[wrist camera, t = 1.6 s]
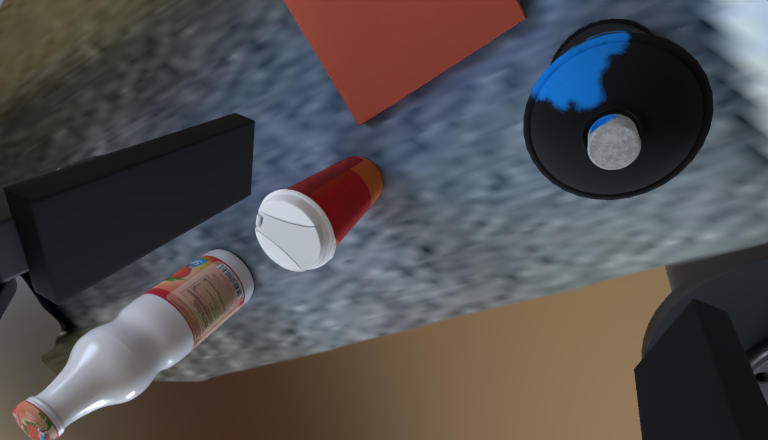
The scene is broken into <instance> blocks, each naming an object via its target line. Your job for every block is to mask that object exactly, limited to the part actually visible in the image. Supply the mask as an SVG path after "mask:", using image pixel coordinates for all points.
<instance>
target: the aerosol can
mask: <svg viewBox="0 0 768 440" xmlns="http://www.w3.org/2000/svg"><path fill="white" fill-rule="evenodd" d="M712 115H713V95H712V90H711V87H710V84H709V81H708V78H707V75H706V73H705V72H704V70H703V69H702V67H701V66H700V64H699V63H698V61H697V60H696V59H695V58H694V57H693V56H692V55H691V54H689V53H688V52H687V51H686V50H685V49H684V48H682V47H681V46H679V45H677V44H675V43H673V42H671V41H670V40H668V39H665V38H662V37H658V36H655V35H654V34H652V33H651V32H650V31H649V30H648V29H647V28H645V27H644V26H642V25H640V24H638V23H636V22H632V21H629V20H624V19H608V20H601V21H598V22H594V23H591V24H589V25H587V26H585V27H583V28H581V29H579V30H578V31H576V32H575V33H574V34H572V35H571V36H570V37H569V38H568V39H567V40H566V41H565V42H564V43H563V44H562V45H561V46H560V48H559V49H558V51H557V52H556V54H555V55H554V58H553V60H552V62H551V65H550V66H549V67H548V68H547V69H546V70H545V71H544V73H543V74H542V75H541V77H540V78H539V80H538V81H537V83H536V84H535V86H534V87H533V89H532V92H531V94H530V96H529V99H528V101H527V104H526V109H525V114H524V138H525V143H526V147H527V150H528V152H529V154H530V156H531V159H532V161H533V162H534V164H535V165H536V166H537V168H538V169H539V171H540V172H541V173H542V174H543V175H544V176H545V177H546V178H547V179H548V180H550V181H551V182H552V183H553V184H555V185H556V186H558V187H560V188H561V189H563V190H565V191H567V192H570V193H572V194H575V195H578V196H581V197H586V198H591V199H600V200H615V199H623V198H630V197H633V196H637V195H640V194H644V193H647V192H649V191H651V190H653V189H655V188H657V187H660V186H662V185H664V184H665V183H667V182H668V181H669V180H671V179H672V178H674V177H675V176H677V175H678V174H679V173H680V172H681V171H682V170H683V169H684V168H685V167H686V166H687V165H688V164H689V163H690V162H691V161H692V160H693V159H694V157H695V156H696V155H697V153H698V152H699V150H700V149H701V147H702V146H703V144H704V141H705V139H706V137H707V134H708V132H709V130H710V126H711V121H712Z"/></svg>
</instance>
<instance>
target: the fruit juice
mask: <svg viewBox="0 0 768 440" xmlns="http://www.w3.org/2000/svg"><path fill="white" fill-rule="evenodd" d="M253 291H254V282H253V278H252V275H251V273H250V271H249V269H248V268H247V266H246V265H245V264H244V263H243V262H242V260H241V259H239V258H238V257H237V256H236V255H234V254H233V253H231V252H229V251H226V250H223V249H215V250H211V251H209V252H207V253H205V254H203V255H202V256H200V257H199V258H197V259H196V260H194V261H193V262H191V263H190V264H188V265H187V266H185V267H184V268H182V269H181V270H179V271H178V272H176V273H175V274H173V275H172V276H170V277H169V278H167V279H165V280H164V281H162V282H161V283H159V284H158V285H156V286H155V287H153V288H152V289H150V290H149V291H147V292H146V293H144V294H143V295H141V296H139V297H138V298H136V299H135V300H134V301H132V302H131V303H130V304H128V305H127V306H126V307H125V308H123V309H122V310H121V311H120V313H119V314H118V315H117V317H116V318H115V319H114V320H113V321H111V322H109V323H106V324H104V325H101V326H98V327H96V328H94V329H92V330H90V331H89V332H88V333H86V334H85V335H84V336H82V337H81V338H80V339H79V340H78V341H77V343H76V344H75V345H74V347H73V349H72V351H71V354H70V357H69V360H68V362H67V364H66V366H65V367H64V368H63V370H62V371H61V372H60V374H59V375H58V376H57V377H56V378H55V379H54V380H53V382H51V384H50V385H49V386H48V387H46V388H45V389H44V390H43V391H42V392H41V393H40V394H38V395H37V396H35V397H29V398H28V399H26V400H25V401H22V402H21V403H20V404H19V405H17V406H16V407H15V408H14V409H13V411H12V413H13V416H14V418H15V420H16V422H17V423H18V425H19V426H20V427H21V428H22V429H23V430H24V431H25V433H26V434H27V435H29V436H30V437H31V438H32V439H34V440H56V439H57V438H58V437H59V436H60V435H61V434H63V432H64V429H65V428H66V427H67V426H68V425H69V424H70V423H72V422H73V421H75V420H77V419H78V418H80V417H82V416H84V415H86V414H88V413H90V412H92V411H94V410H96V409H99V408H101V407H104V406H107V405H113V404H119V403H124V402H127V401H129V400H131V399H133V398H135V397H136V396H138V395H139V394H140V393H142V392H143V391H144V390H145V389H146V388H147V387H148V386H149V385H150V383H151V382H152V380H153V379H154V378H155V376H156V375H157V374H158V373H159V372H160V371H162V370H164V369H167V368H169V367H171V366H173V365H174V364H176V363H177V362H178V361H180V360H181V359H182V358H184V357H185V356H186V355H187V354H188V353H190V352H191V351H192V350H193V349H194V348H195V347H196V346H197V345H198V344H199V343H201V342H202V341H203V340H204V339H205V338H206V337H207V336H209V335H210V334H211V333H212V332H213V331H214V330H215V329H217V328H218V327H219V326H220V325H221V324H222V323H223V322H225V321H226V320H227V319H228V318H229V317H230V316H231V315H233V314H234V313H235V312H236V311H237V310H238V309H239V308H240V307H242V306H243V305H244V304H245V303H246V302H247V301H248V300H249V299H250V297H251V296H252V294H253Z"/></svg>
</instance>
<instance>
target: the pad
mask: <svg viewBox="0 0 768 440" xmlns="http://www.w3.org/2000/svg"><path fill="white" fill-rule="evenodd" d="M284 1H285V3H286V5H287V6H288V8H289V10H290V11H291V13H292V15H293V16H294V18H295V20H296V21H297V23H298V25H299V26H300V28H301V30H302V31H303V33H304V35H305V36H306V38H307V40H308V41H309V43H310V45H311V46H312V48H313V50H314V51H315V53H316V55H317V56H318V58H319V60H320V61H321V63H322V65H323V66H324V68H325V70H326V71H327V73H328V75H329V76H330V78H331V80H332V81H333V83H334V85H335V86H336V88H337V90H338V91H339V93H340V95H341V96H342V98H343V100H344V101H345V103H346V104H347V106H348V108H349V109H350V111H351V113H352V114H353V116H354V118H355V119H356V121H357V123H358V124H359V126H360V125H362V124H364V123H365V122H367V121H368V120H370V119H371V118H373V117H374V116H376V115H378V114H379V113H381V112H382V111H384V110H385V109H387V108H388V107H390V106H391V105H393V104H395V103H396V102H398V101H399V100H401V99H402V98H404V97H405V96H407V95H408V94H410V93H412V92H413V91H415V90H416V89H418V88H419V87H421V86H422V85H424V84H425V83H427V82H429V81H430V80H432V79H433V78H435V77H436V76H438V75H439V74H441V73H442V72H444V71H446V70H447V69H449V68H450V67H452V66H453V65H455V64H456V63H458V62H459V61H461V60H463V59H464V58H466V57H467V56H469V55H470V54H472V53H473V52H475V51H476V50H478V49H480V48H481V47H483V46H484V45H486V44H487V43H489V42H490V41H492V40H493V39H495V38H497V37H498V36H500V35H501V34H503V33H504V32H506V31H507V30H509V29H510V28H512V27H514V26H515V25H517V24H518V23H520V22H521V21H523V20H524V19H526V18H527V16H526V14H525V12H524V10H523V8H522V6H521V4H520V2H519V0H284Z"/></svg>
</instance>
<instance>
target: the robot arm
mask: <svg viewBox="0 0 768 440" xmlns="http://www.w3.org/2000/svg"><path fill="white" fill-rule="evenodd" d="M254 126H255V121H254V120H251V119H249V118H246V117H244V116H241V115H239V114H236V113H234V114H231V115H228V116H224V117H221V118H218V119H215V120H212V121H209V122H206V123H203V124H200V125H196V126H193V127H190V128H187V129H184V130H181V131H178V132H175V133H171V134H168V135H165V136H162V137H159V138H156V139H153V140H150V141H147V142H143V143H140V144H137V145H134V146H131V147H128V148H125V149H122V150H119V151H115V152H112V153H109V154H106V155H101V156H94V157H91V158H88V159H85V160H81V161H78V162H75V163H74V164H73V165H71V164H69V165H66V166H63V167H59V168H57V170H56V171H55V170H50V171H47V172H44V173H40V174H37V175H34V176H31V177H28V178H25V179H22V180H18V181H15V182H12V183H9V184H6V185H3V186H0V319H1V317H2V315H3V313H4V311H5V310H6V308H7V306H8V304H9V302H10V301H11V299H12V297H13V296H14V294H15V292H16V288H17V282H16V279H15V277H17V276H19V275H21V274H23V273H25V272H27V271H29V275H30V278H31V281H32V285H33V288H34V291H35V292H37V293H39V294H40V295H42V296H44V297H45V298H47V299H49V300H50V301H52V302H53V303H55V304H57V305H60V304H62V303H63V302H65V301H67V300H69V299H70V298H72V297H74V296H75V295H77V294H79V293H81V292H82V291H84V290H86V289H88V288H89V287H91V286H93V285H95V284H96V283H98V282H100V281H102V280H103V279H105V278H107V277H108V276H110V275H112V274H114V273H115V272H117V271H119V270H121V269H122V268H124V267H126V266H128V265H129V264H131V263H133V262H135V261H136V260H138V259H140V258H141V257H143V256H145V255H147V254H148V253H150V252H152V251H154V250H155V249H157V248H159V247H161V246H162V245H164V244H166V243H168V242H169V241H171V240H173V239H174V238H176V237H178V236H180V235H181V234H183V233H185V232H187V231H188V230H190V229H192V228H194V227H195V226H197V225H199V224H201V223H202V222H204V221H206V220H207V219H209V218H211V217H213V216H214V215H216V214H218V213H220V212H221V211H223V210H225V209H227V208H228V207H230V206H232V205H234V204H235V203H237V202H239V201H240V200H242V199H244V198H246V197H247V196H249V195H251V179H252V161H253V144H254ZM634 372H635V381H636V390H637V398H638V407H639V415H640V423H641V432H642V440H768V338H766V339H764V340H762V341H760V342H759V343H757V344H756V345H754V346H753V347H752V348H751V349H749V350H748V351H747V352H746V353H745V352H744V349H743V347H742V345H741V343H740V340H739V338H738V336H737V333H736V331H735V329H734V326H733V324H732V322H731V320H730V317H729V315H728V313H727V312H726V311H724V310H721V309H719V308H716V307H714V306H711V305H709V304H707V303H704V302H702V301H699V300H697V299H694V298H693V299H692V301H691V302H690V303H689V304H688V305H687V307H686V308H685V309H684V310H683V311H682V312H681V314H680V315H679V316H678V317H677V318H676V320H675V321H674V322H673V323H672V324H671V326H670V327H669V328H668V329H667V330H666V332H665V333H664V334H663V335H662V336H661V338H660V339H659V340H658V341H657V342H656V344H655V345H654V346H653V347H652V348H651V350H650V351H649V352H648V353H647V354H646V356H645V357H644V358H643V359H642V360H641V362H640V363H639V364H638V365H637V366H636V368H635V369H634Z"/></svg>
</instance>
